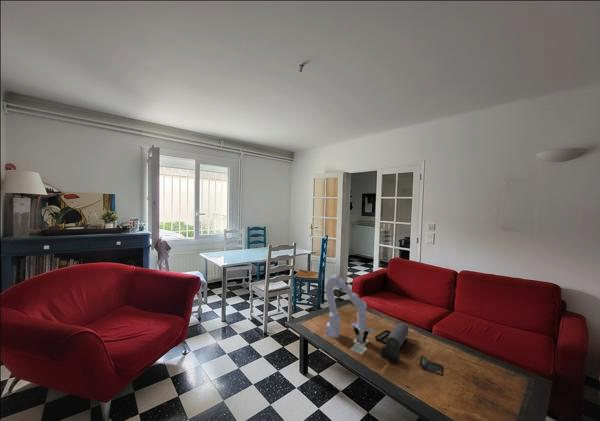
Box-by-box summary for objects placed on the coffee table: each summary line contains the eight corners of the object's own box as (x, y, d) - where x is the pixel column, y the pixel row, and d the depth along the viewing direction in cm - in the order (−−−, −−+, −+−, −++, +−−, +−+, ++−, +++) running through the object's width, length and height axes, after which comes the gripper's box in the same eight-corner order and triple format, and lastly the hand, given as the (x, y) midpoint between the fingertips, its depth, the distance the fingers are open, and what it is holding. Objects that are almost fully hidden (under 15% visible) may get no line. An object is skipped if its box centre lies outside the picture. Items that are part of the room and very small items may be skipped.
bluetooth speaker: (400, 354, 155) (400, 339, 154) (385, 349, 161) (386, 334, 160) (409, 338, 173) (409, 324, 172) (395, 333, 179) (396, 320, 178)
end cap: (380, 359, 150) (380, 348, 150) (384, 353, 156) (384, 343, 156) (397, 366, 144) (397, 355, 144) (400, 360, 150) (401, 349, 150)
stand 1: (353, 343, 165) (353, 341, 165) (357, 338, 172) (357, 336, 172) (364, 348, 161) (364, 346, 161) (368, 342, 167) (369, 340, 167)
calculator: (442, 376, 137) (442, 371, 137) (419, 368, 143) (419, 363, 143) (442, 366, 145) (442, 361, 145) (420, 359, 151) (421, 354, 151)
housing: (356, 342, 165) (356, 334, 165) (359, 337, 170) (360, 330, 170) (362, 344, 162) (362, 337, 162) (366, 340, 167) (366, 333, 167)
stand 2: (350, 351, 157) (350, 349, 157) (355, 345, 163) (355, 343, 163) (361, 356, 152) (362, 354, 152) (366, 350, 159) (366, 347, 159)
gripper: (349, 319, 166) (348, 338, 167) (370, 326, 158) (369, 346, 159) (353, 315, 172) (353, 334, 173) (373, 322, 163) (373, 341, 164)
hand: (361, 339), depth 166 cm, fingers closed on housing, 4 cm apart
